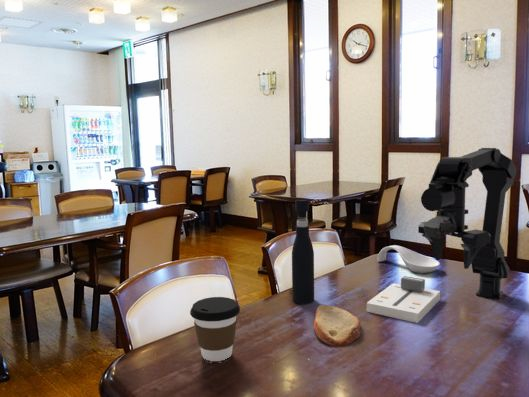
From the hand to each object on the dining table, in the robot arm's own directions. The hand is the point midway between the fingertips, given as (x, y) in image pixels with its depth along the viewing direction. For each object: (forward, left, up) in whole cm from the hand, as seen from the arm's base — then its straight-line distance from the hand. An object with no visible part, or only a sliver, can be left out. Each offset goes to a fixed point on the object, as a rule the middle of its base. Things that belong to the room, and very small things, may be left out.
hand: (451, 264), depth 120 cm
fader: (-6, -12, -11) cm, 18 cm away
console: (+1, -12, -14) cm, 18 cm away
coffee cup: (+53, -36, -14) cm, 65 cm away
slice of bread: (+25, -22, -14) cm, 36 cm away
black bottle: (+13, -38, -14) cm, 43 cm away
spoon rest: (-37, -24, -14) cm, 46 cm away
